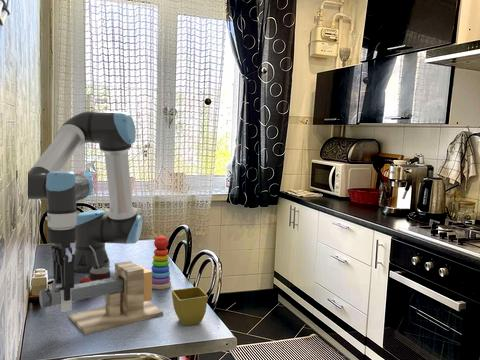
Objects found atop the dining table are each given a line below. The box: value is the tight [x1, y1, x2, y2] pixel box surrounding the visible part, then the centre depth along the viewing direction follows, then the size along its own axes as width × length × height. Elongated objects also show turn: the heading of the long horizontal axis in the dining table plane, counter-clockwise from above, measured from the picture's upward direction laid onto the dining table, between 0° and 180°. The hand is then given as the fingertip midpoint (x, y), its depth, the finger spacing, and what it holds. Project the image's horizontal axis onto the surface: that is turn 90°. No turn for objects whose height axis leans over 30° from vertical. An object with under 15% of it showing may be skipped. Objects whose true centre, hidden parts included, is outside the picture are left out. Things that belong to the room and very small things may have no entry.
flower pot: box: [171, 286, 209, 327], centre depth 133 cm, size 9×9×9 cm
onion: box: [77, 275, 92, 300], centre depth 149 cm, size 6×6×8 cm
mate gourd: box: [88, 245, 111, 281], centre depth 158 cm, size 8×8×15 cm
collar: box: [137, 263, 153, 302], centre depth 140 cm, size 9×3×9 cm, turn 38°
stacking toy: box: [150, 235, 172, 290], centre depth 162 cm, size 8×8×19 cm
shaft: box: [38, 276, 124, 309], centre depth 131 cm, size 5×28×5 cm, turn 128°
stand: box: [69, 260, 164, 336], centre depth 135 cm, size 14×24×15 cm, turn 128°
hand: (64, 308), depth 126 cm, fingers closed on shaft, 3 cm apart
